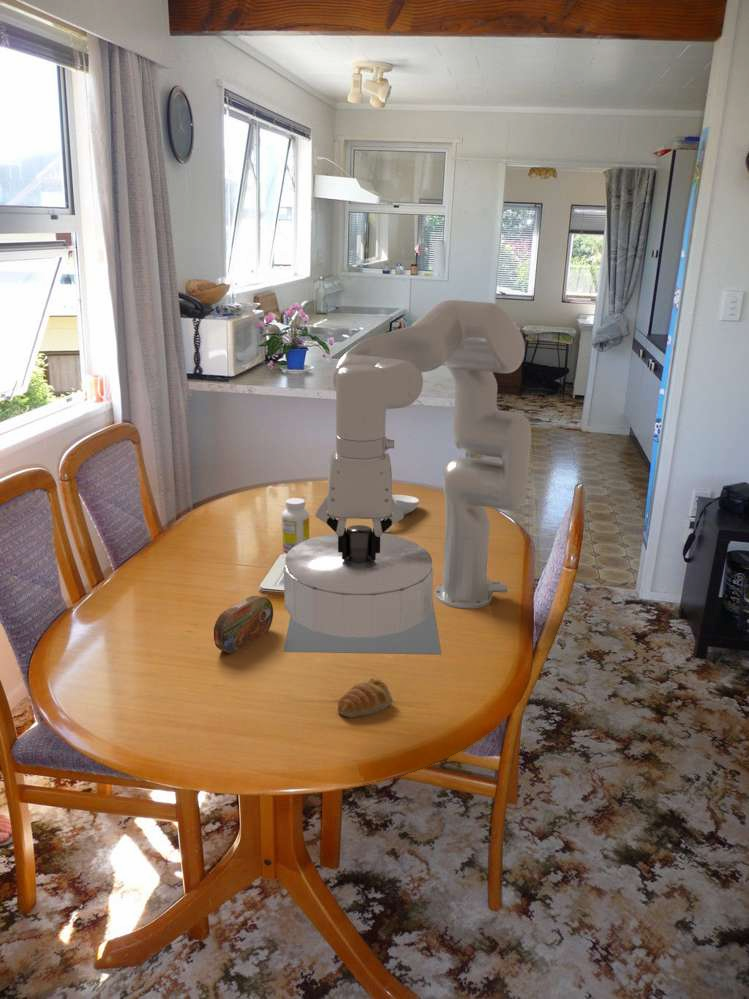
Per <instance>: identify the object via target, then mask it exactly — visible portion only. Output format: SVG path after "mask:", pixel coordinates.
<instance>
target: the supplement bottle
mask: <svg viewBox="0 0 749 999" xmlns="http://www.w3.org/2000/svg"><path fill="white" fill-rule="evenodd" d="M285 506H286V509H284V510H283V511H282V513H281V528H282V549H283V551H284V552H286V553H288V552H289V551H290V550H291V549H292V548H293V547H294V546H296V545H297V544H299V543H301V542H303V541H306V540H308V539H310V513H309V511H308V510H307V509H306V508H305V506H306V501H305V499H303V498H299V497H292V498H288V499H286V500H285Z"/></svg>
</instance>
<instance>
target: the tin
mask: <svg viewBox="0 0 749 999" xmlns="http://www.w3.org/2000/svg"><path fill="white" fill-rule="evenodd" d="M273 617H274V606H273V603H272V601H271V600H270V599H269V598H267V597H266V596H260V595H259V596H258V595H250V596H249V597H246V598H245V599H243V600H241V601H240V602H238V603H236V604H235V605H233V606H231V607H229V608H227V609H226V610H224V611H222V613H221V614H220V615H218V617H217V620H216V621H215V623H214V625H213V626H214V627H213V642H214V645H215V647H216V648H217V649H218V650H220V651H222V652H225V653H227V654H228V655H229V654H230V655H233V654H235V652H236V651H238V650H239V649H241V648H243V647H245V646H246V645H248V644H250V643H252V642H253V641H255V640H257V639H258V638H260V637H261V636H263V635H265V634H267V633H268V632H269V630H270V627H271V626H272V623H273V619H274V618H273Z"/></svg>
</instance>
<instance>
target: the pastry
mask: <svg viewBox="0 0 749 999" xmlns="http://www.w3.org/2000/svg"><path fill="white" fill-rule="evenodd" d="M392 703H393V697H392V695H391V692H390V690H389V689H388V686H387V684H386V683H384V682H383V680H381V679H378V678H376V679H375V678H372V677H371V678H370V679H368V680H366V681H364V682H360V683H359V684H358V683H357V684H355V685H353V686H352V687H351V688H350V689H348V690H347V692H346V693H345V694H343V695H342V697H341V698H340V699H339V701H338V703H337V713H339V714H340V715H342V716H345V717H347V718H350V719H351V718H352V719H354V718H353V717H355V718H358V717H364V716H363V715H365V716H371V715H373V714H375V713H377V712H379V710H380V711H382V710H384V709H386V708H388V707H389V706H390V705H392ZM385 707H386V708H385ZM357 716H358V717H357Z"/></svg>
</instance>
